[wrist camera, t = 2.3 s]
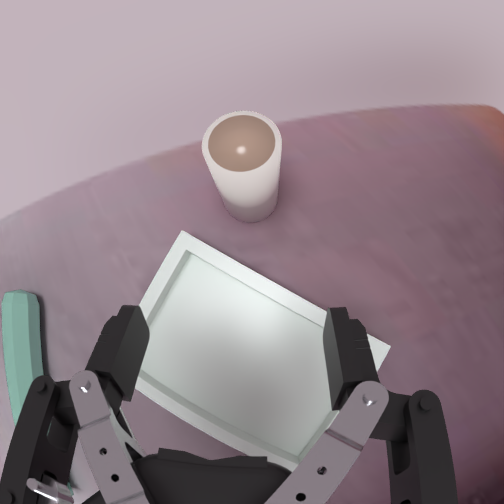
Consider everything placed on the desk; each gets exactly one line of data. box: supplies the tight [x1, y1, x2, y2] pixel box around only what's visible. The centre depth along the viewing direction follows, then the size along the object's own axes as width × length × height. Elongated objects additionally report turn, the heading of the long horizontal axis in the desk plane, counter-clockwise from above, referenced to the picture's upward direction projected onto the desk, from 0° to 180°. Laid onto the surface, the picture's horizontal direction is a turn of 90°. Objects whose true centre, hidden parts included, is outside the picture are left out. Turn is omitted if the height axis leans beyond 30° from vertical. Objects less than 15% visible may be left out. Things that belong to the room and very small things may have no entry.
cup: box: [202, 111, 282, 223], centre depth 23 cm, size 5×5×10 cm
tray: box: [135, 230, 391, 472], centre depth 24 cm, size 20×14×2 cm
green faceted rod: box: [2, 289, 74, 496], centre depth 23 cm, size 6×6×25 cm
